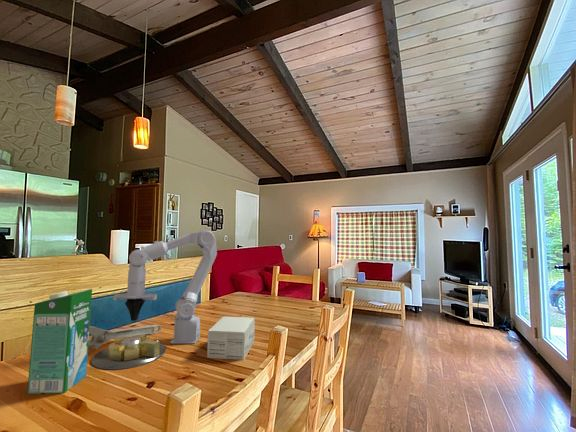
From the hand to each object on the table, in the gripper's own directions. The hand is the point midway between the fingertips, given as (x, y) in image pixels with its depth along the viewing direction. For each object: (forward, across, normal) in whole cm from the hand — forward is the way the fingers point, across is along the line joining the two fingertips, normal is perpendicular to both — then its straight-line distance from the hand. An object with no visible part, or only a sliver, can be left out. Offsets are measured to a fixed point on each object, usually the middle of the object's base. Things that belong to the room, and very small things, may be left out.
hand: (134, 319), depth 102 cm
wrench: (+10, -7, +7) cm, 14 cm away
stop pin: (+10, +10, -7) cm, 16 cm away
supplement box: (+10, +36, -2) cm, 37 cm away
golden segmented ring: (+9, +4, -7) cm, 12 cm away
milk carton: (+10, -8, -25) cm, 28 cm away
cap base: (+10, +2, -6) cm, 12 cm away
